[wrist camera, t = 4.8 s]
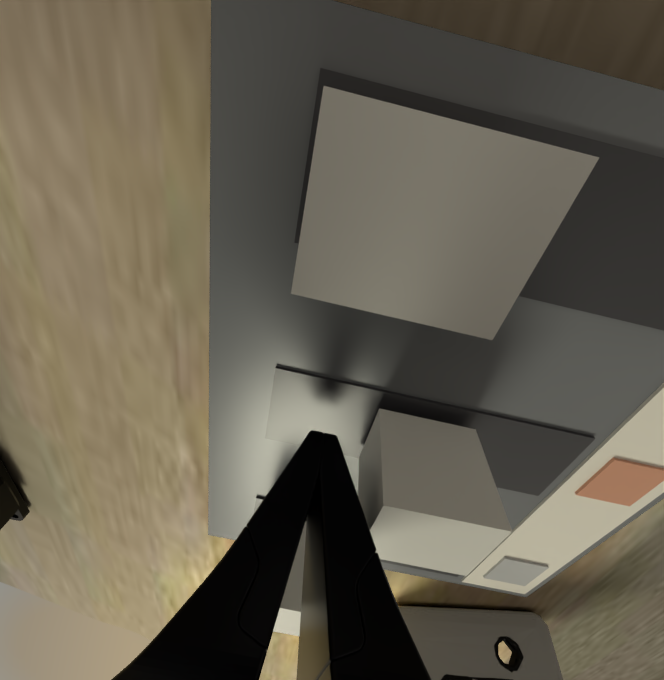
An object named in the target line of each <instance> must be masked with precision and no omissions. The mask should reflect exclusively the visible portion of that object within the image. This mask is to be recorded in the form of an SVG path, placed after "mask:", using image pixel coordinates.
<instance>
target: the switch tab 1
mask: <svg viewBox="0 0 664 680" xmlns="http://www.w3.org/2000/svg"><path fill="white" fill-rule="evenodd" d="M306 523H307V521H305V524H304V528H303V531H302V535H301V538H300V541H299V545H298V548H297V551H296V555H295V558H294V562H293V565H292V568H291V572H290V575H289V579H288V582H287V585H286V589H285V592H284V596H283V599H282V602H281V606H280V609H279V612H278V616H277V619H276V623H275V626H274V629H273V631H274V632H279V633H284V634H290V635H295V636H299V634H300V618H301V602H302V587H303V571H304V555H305V539H306Z"/></svg>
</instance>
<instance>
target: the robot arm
mask: <svg viewBox="0 0 664 680" xmlns="http://www.w3.org/2000/svg"><path fill="white" fill-rule="evenodd" d="M28 513H29V509H28V508H27V506H26V504H25V502H24V500H23V499H22V497H21V495H20V493H19V491H18V490H17V488H16V486H15V484H14V483H13V481H12V479H11V477H10V475H9V474H8V472H7V470H6V468H5V466H4V465H3V463H2V461H1V459H0V530H1V528H2V527H3V526H4V525H5V524H6V523H7V522H8V521H9V519H13V520H19V521H21V520H23V519H24V518H25V517H26V516H27V514H28ZM306 518H307V523H306V539H305V555H304V571H303V587H302V602H301V618H300V634H299V650H298V666H297V680H432V679H431V677H430V675H429V673H428V671H427V668H426V666H425V664H424V662H423V660H422V658H421V655H420V653H419V651H418V649H417V647H416V645H415V642H414V640H413V638H412V636H411V634H410V631H409V629H408V627H407V625H406V623H405V621H404V618H403V616H402V614H401V612H400V609H399V607H398V605H397V602H396V600H395V598H394V595H393V593H392V591H391V588H390V585H389V583H388V580H387V577H386V575H385V572H384V569H383V567H382V564H381V561H380V558H379V555H378V553H376V547H375V544H374V541H373V538H372V535H371V532H370V529H369V526H368V524H367V521H366V518H365V515H364V512H363V509H362V506H361V503H360V500H359V498H358V495H357V492H356V489H355V486H354V483H353V480H352V477H351V474H350V472H349V469H348V466H347V463H346V460H345V457H344V454H343V451H342V448H341V446H340V443H339V440H338V437H337V436H336V435H334V434H329V433H323V432H319V431H315V430H311V431H310V432H309V433H308V435H307V436H306V438H305V439H304V441H303V442H302V444H301V445H300V446H299V448H298V449H297V451H296V452H295V454H294V455H293V457H292V458H291V460H290V461H289V463H288V464H287V466H286V467H285V469H284V470H283V472H282V473H281V474H280V476H279V477H278V479H277V480H276V482H275V483H274V485H273V486H272V488H271V489H270V491H269V492H268V494H267V495H266V497H265V498H264V500H263V501H262V502H261V504H260V505H259V507H258V508H257V510H256V511H255V513H254V514H253V516H252V517H251V519H250V520H249V522H248V523H247V525H246V527H244V529H243V530H242V532H241V533H240V535H239V536H238V537H237V539H236V540H235V542H234V543H233V545H232V546H231V547H230V549H229V550H228V551H227V553H226V554H225V556H224V557H223V558H222V560H221V561H220V562H219V563H218V565H217V566H216V567H215V568H214V570H213V571H212V572H211V573H210V574H209V576H208V577H207V578H206V579H205V581H204V582H203V583H202V584H201V585H200V586H199V588H198V589H197V590H196V591H195V592H194V593H193V595H192V596H191V597H190V598H189V599H188V600H187V602H186V603H185V604H184V605H183V606H182V607H181V609H180V610H179V611H178V612H177V613H176V614H175V616H174V617H173V618H172V619H171V620H170V621H169V623H168V624H167V625H166V626H165V627H164V628H163V629H162V631H161V632H160V633H159V634H158V635H157V636H156V637H155V638H154V639H153V641H152V642H151V643H150V644H149V645H148V646H147V647H146V648H145V649H144V650H143V651H142V652H141V653H140V654H139V655H138V656H137V657H136V658H135V659H134V660H133V661H132V662H131V663H130V664H129V665H128V666H127V667H126V668H124V669H123V670H122V671H121V672H120V673H119V674H117V675H116V676H115V677H114V678H113V679H112V680H259V677H260V674H261V670H262V667H263V663H264V660H265V656H266V653H267V650H268V646H269V643H270V640H271V636H272V633H273V629H274V626H275V623H276V619H277V616H278V612H279V609H280V606H281V602H282V599H283V596H284V592H285V589H286V585H287V582H288V579H289V575H290V572H291V568H292V565H293V562H294V558H295V555H296V551H297V548H298V545H299V541H300V538H301V535H302V531H303V528H304V524H305V521H306Z"/></svg>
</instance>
